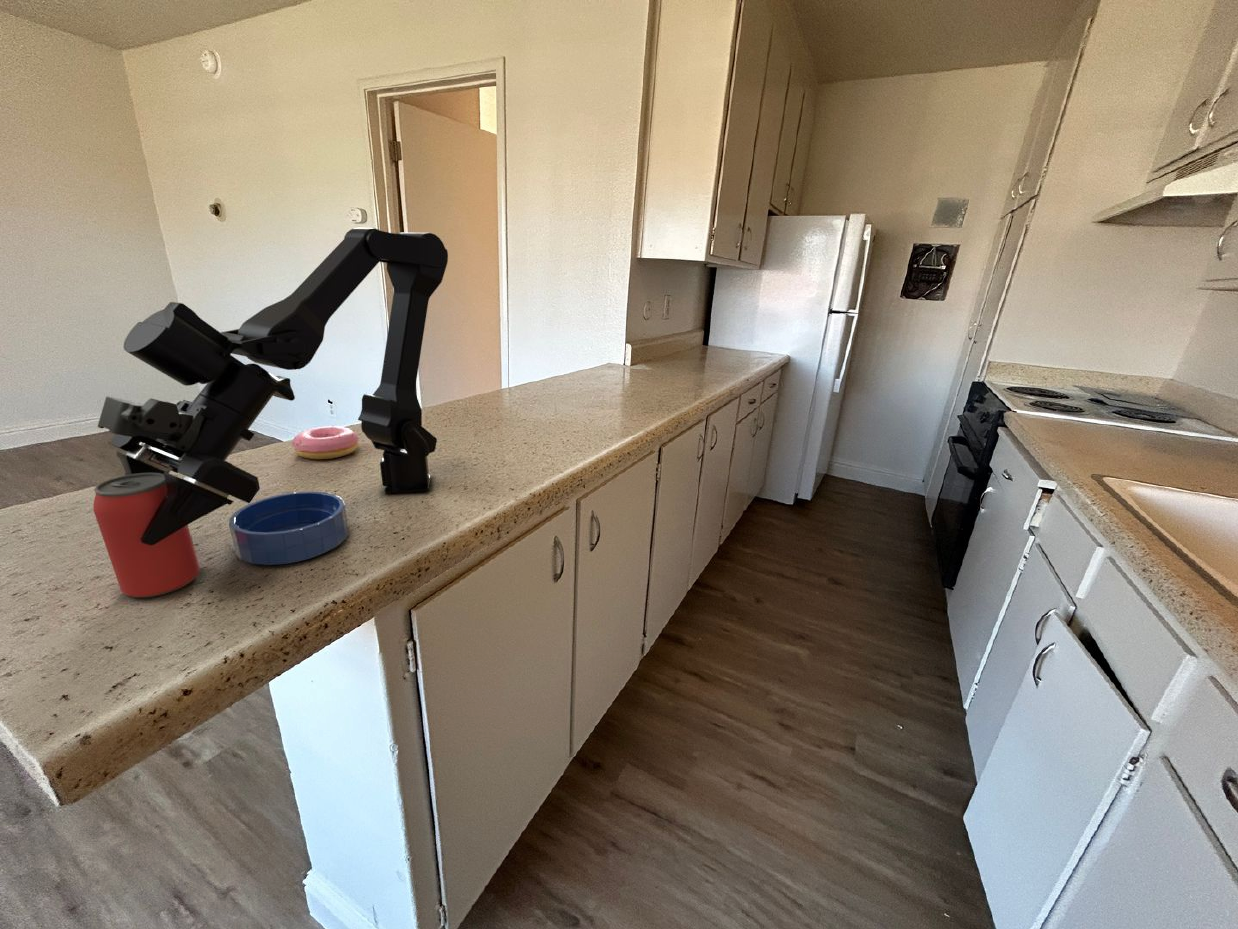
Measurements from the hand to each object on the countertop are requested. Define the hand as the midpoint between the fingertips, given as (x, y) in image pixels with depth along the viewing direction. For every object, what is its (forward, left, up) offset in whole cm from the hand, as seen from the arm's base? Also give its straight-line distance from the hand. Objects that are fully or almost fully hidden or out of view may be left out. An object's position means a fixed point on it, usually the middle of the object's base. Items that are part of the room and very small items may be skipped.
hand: (129, 534), depth 52 cm
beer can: (-1, -1, -7) cm, 7 cm away
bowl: (-12, -8, -7) cm, 16 cm away
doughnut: (-8, -44, -7) cm, 45 cm away
